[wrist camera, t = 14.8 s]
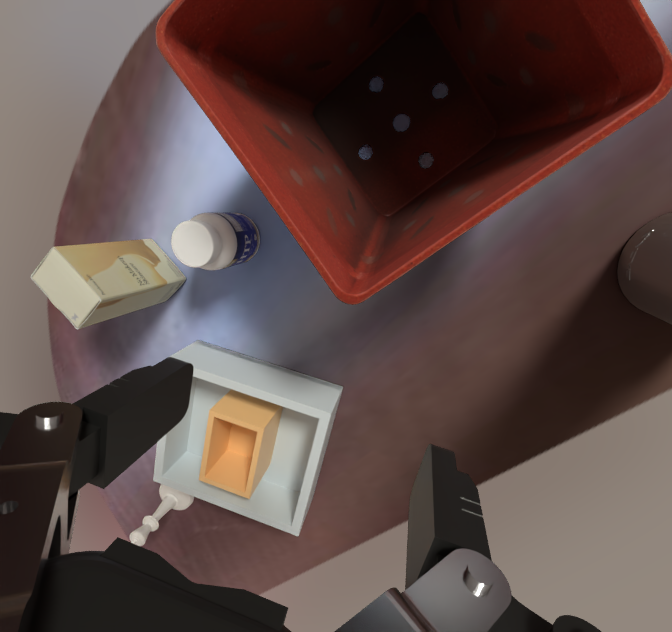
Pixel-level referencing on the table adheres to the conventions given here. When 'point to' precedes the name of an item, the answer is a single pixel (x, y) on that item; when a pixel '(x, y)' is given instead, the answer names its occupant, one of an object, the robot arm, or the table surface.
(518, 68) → the plant pot
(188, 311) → the table surface
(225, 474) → the small crate
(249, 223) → the pill bottle
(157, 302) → the skincare box
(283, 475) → the big crate
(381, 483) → the table surface
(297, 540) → the table surface
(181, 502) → the chess piece
